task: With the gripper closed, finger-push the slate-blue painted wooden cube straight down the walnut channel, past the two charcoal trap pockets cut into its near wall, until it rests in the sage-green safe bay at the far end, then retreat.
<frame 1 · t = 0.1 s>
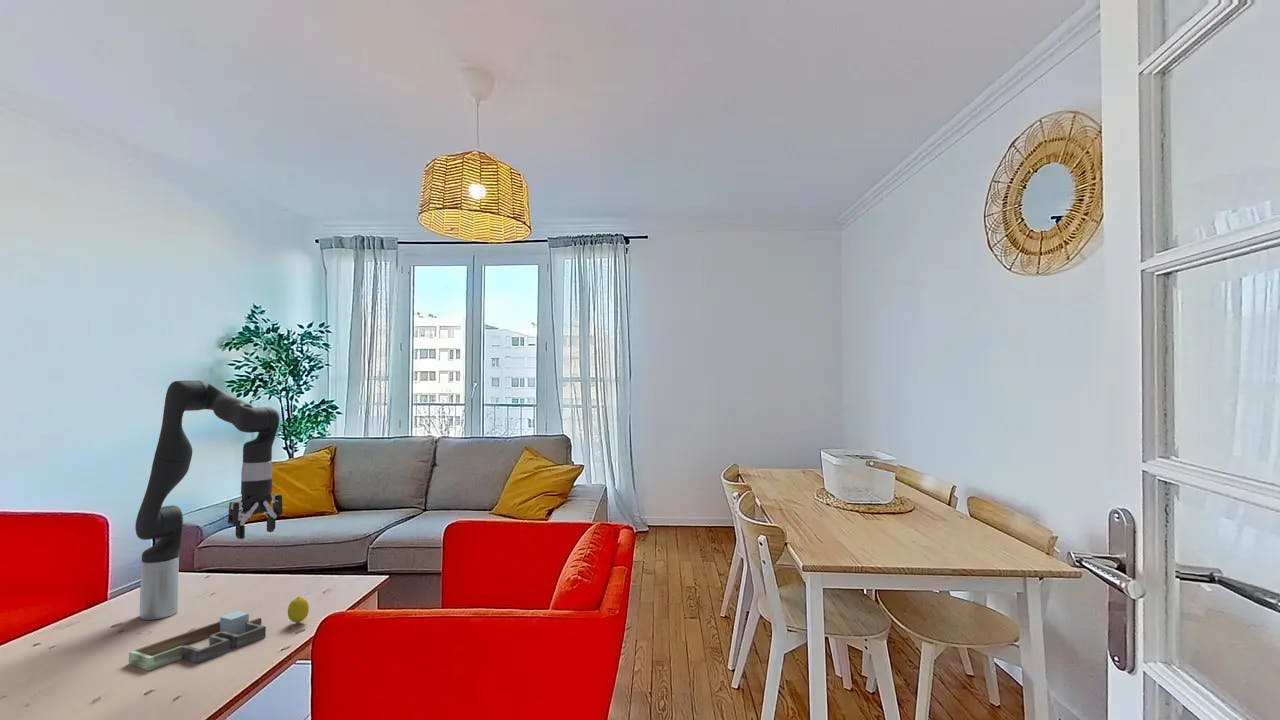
hand: (255, 535, 175), 29 cm above the table, fingers open, 8 cm apart
lemon: (298, 624, 186), on the table
block: (234, 632, 179), resting in trap box
trap box: (201, 644, 171), on the table
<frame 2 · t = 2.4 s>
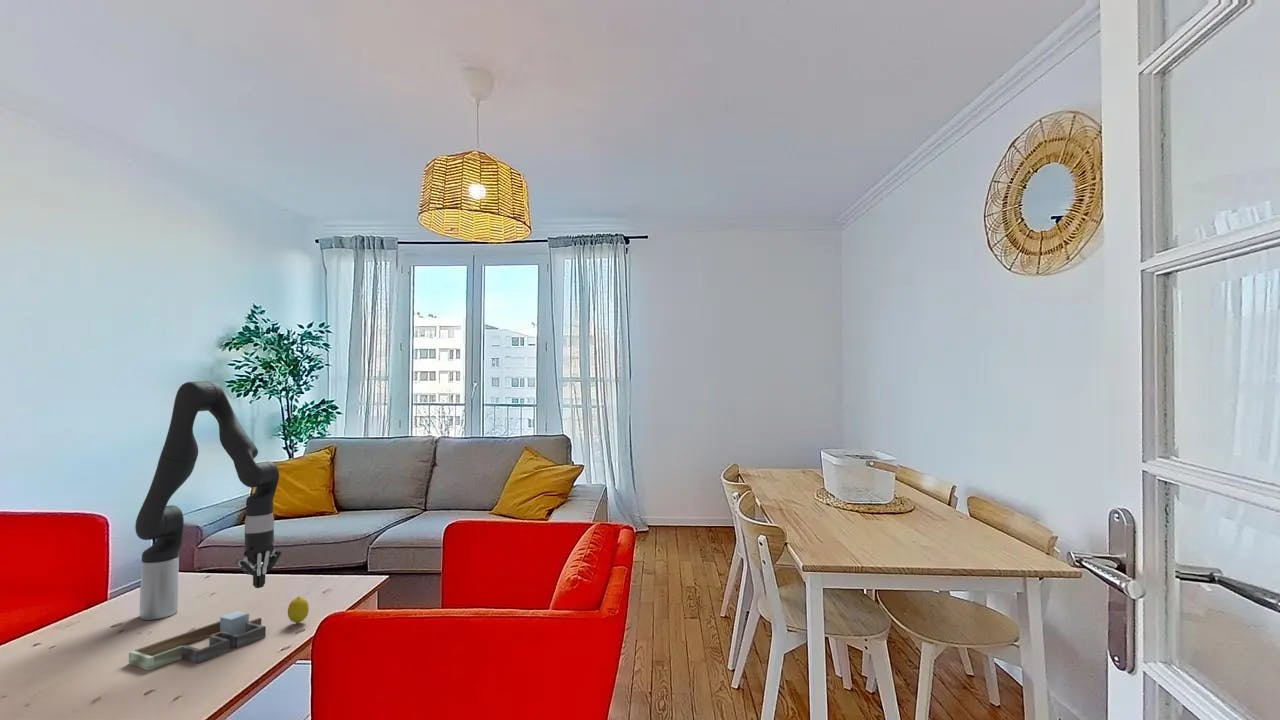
hand: (258, 587, 186), 11 cm above the table, fingers closed
nothing on the table moved.
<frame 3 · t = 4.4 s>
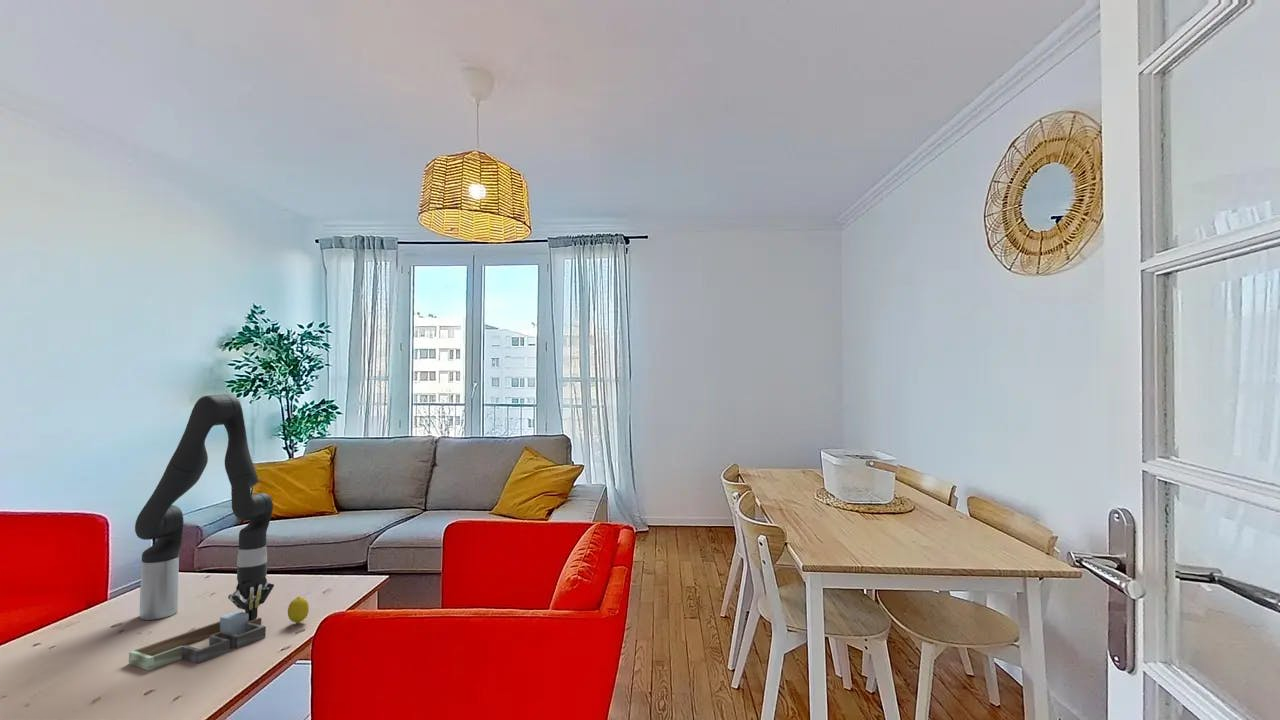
hand: (251, 621, 184), 1 cm above the table, fingers closed
block: (234, 632, 179), resting in trap box, touching gripper
everything else where it was.
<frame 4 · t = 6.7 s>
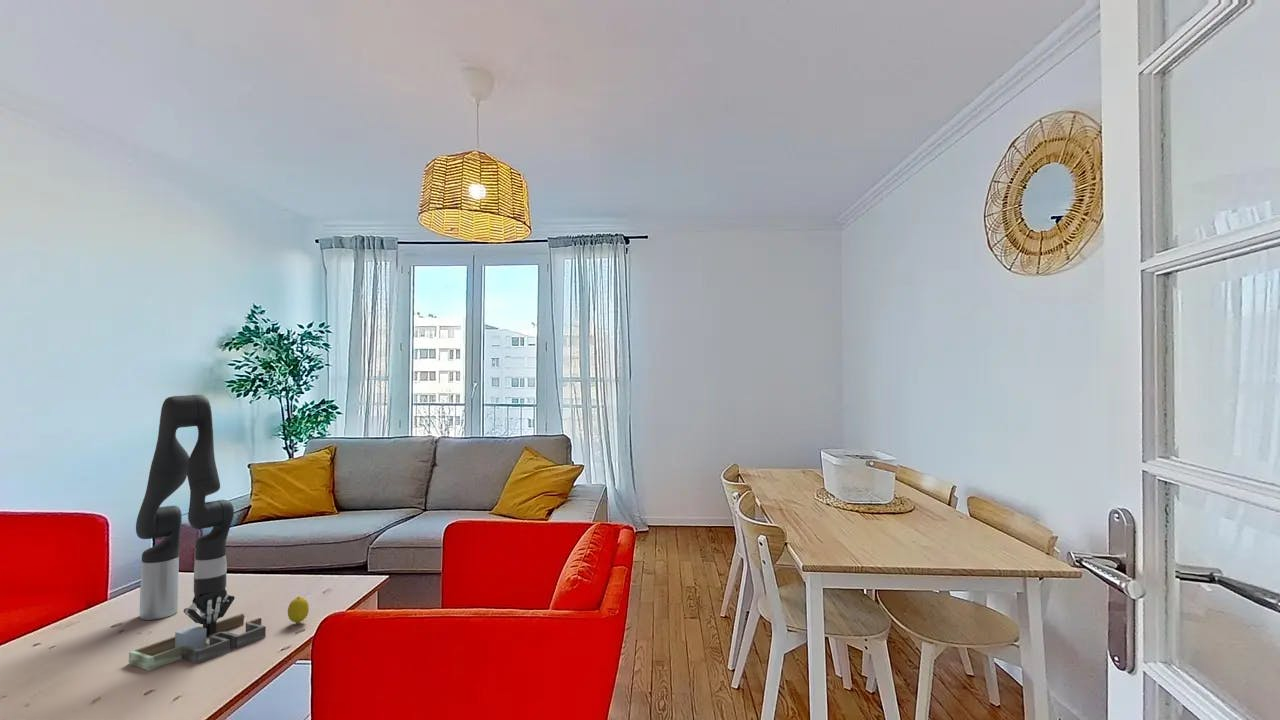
hand: (209, 635, 173), 2 cm above the table, fingers closed
block: (190, 648, 168), resting in trap box, touching gripper
everything else where it was.
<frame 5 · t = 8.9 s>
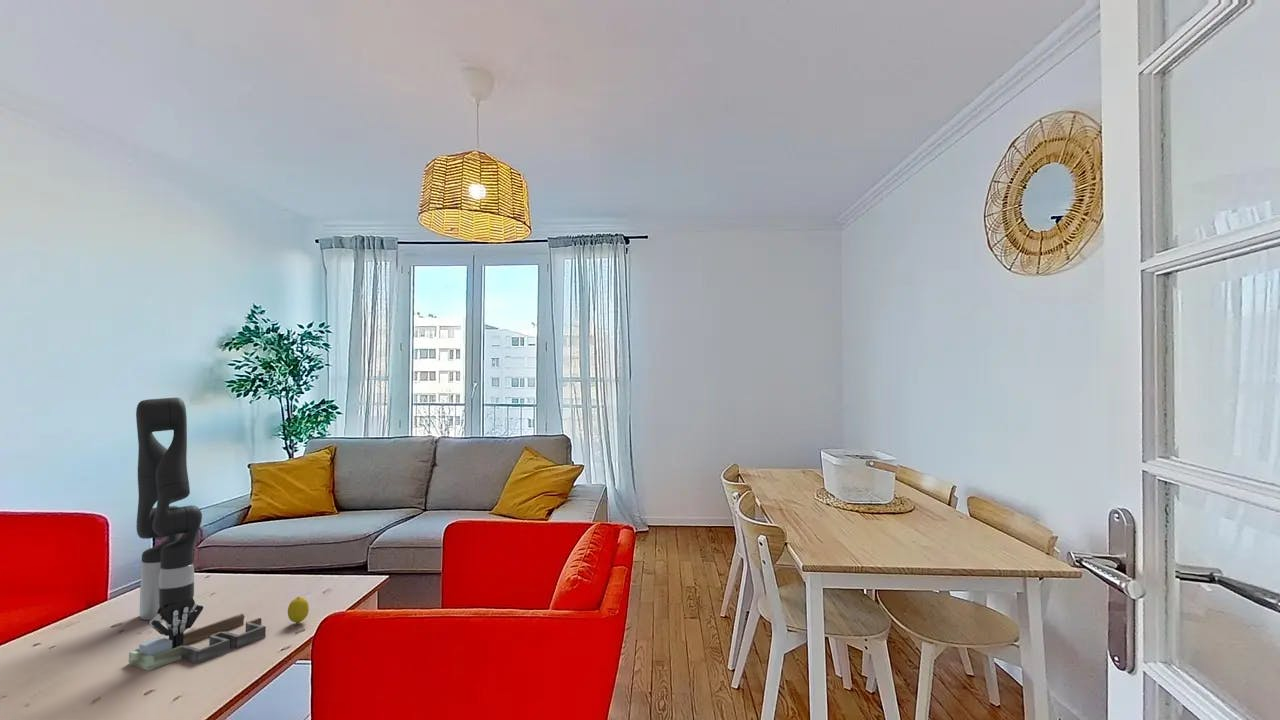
hand: (175, 647, 165), 2 cm above the table, fingers closed
block: (155, 661, 160), resting in trap box, touching gripper
everything else where it was.
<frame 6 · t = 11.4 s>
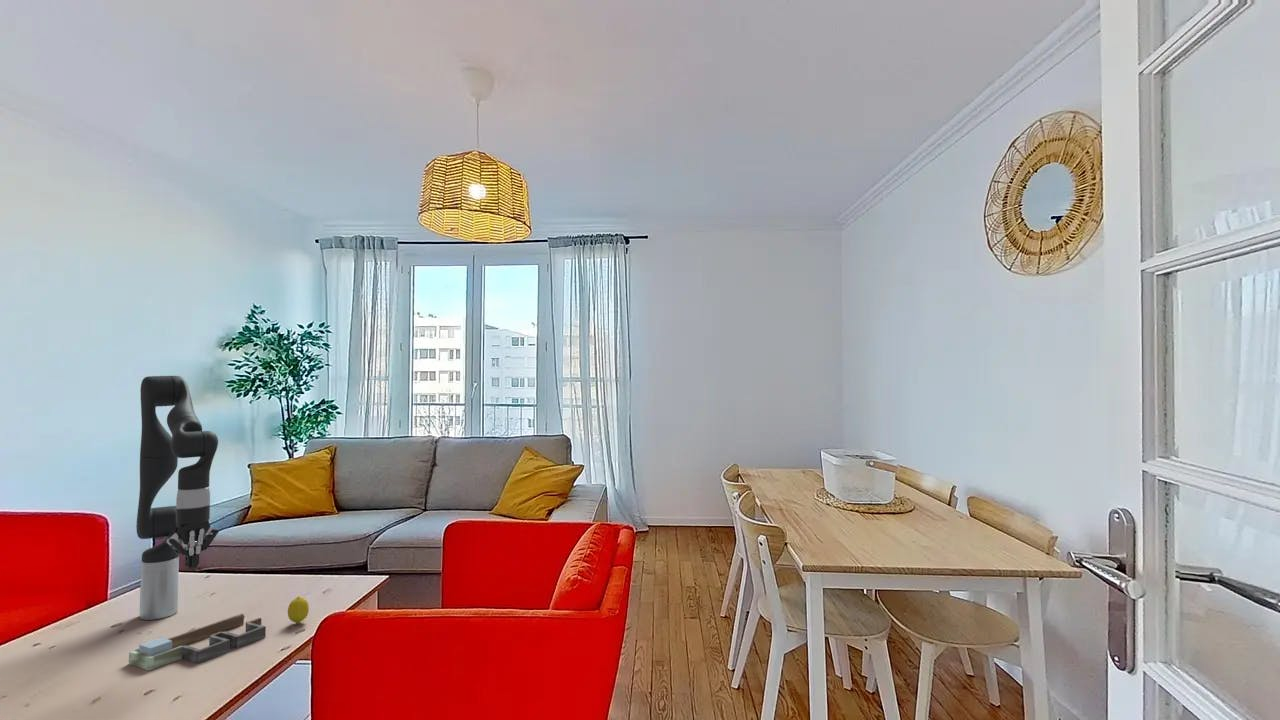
hand: (191, 568, 169), 22 cm above the table, fingers closed
block: (155, 662, 160), resting in trap box
everything else where it was.
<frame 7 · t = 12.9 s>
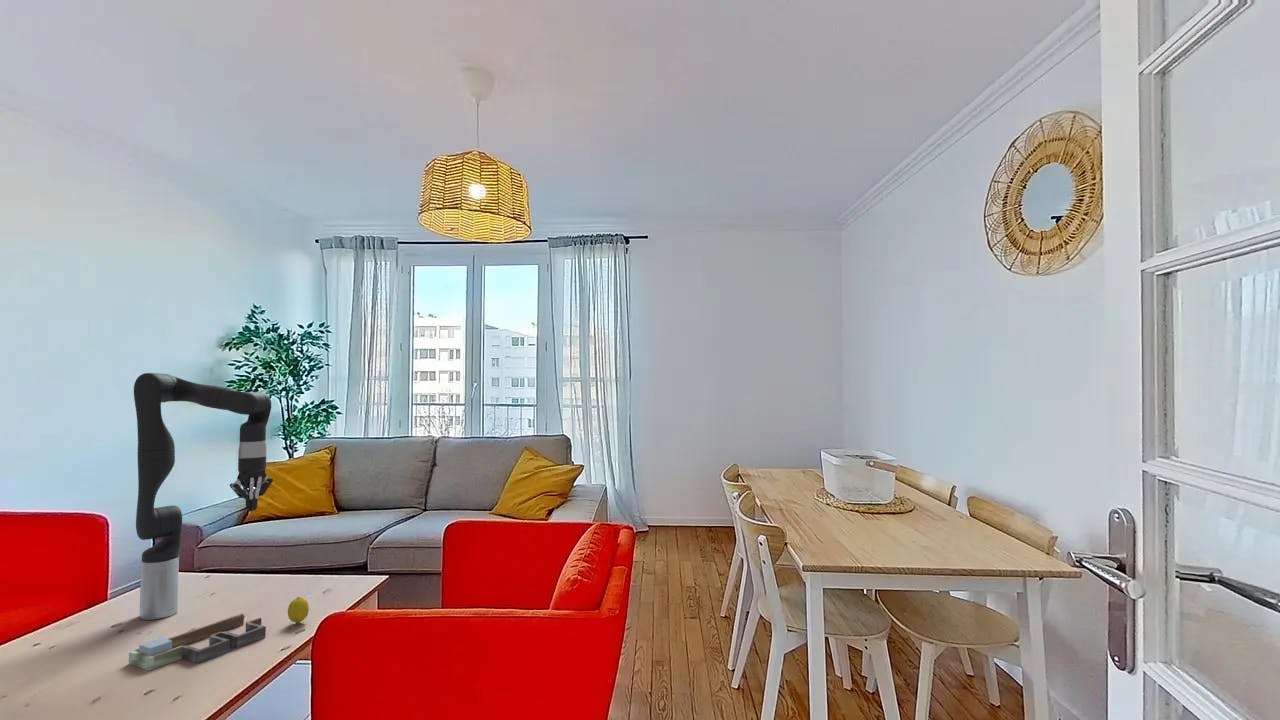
hand: (251, 510, 194), 32 cm above the table, fingers closed
nothing on the table moved.
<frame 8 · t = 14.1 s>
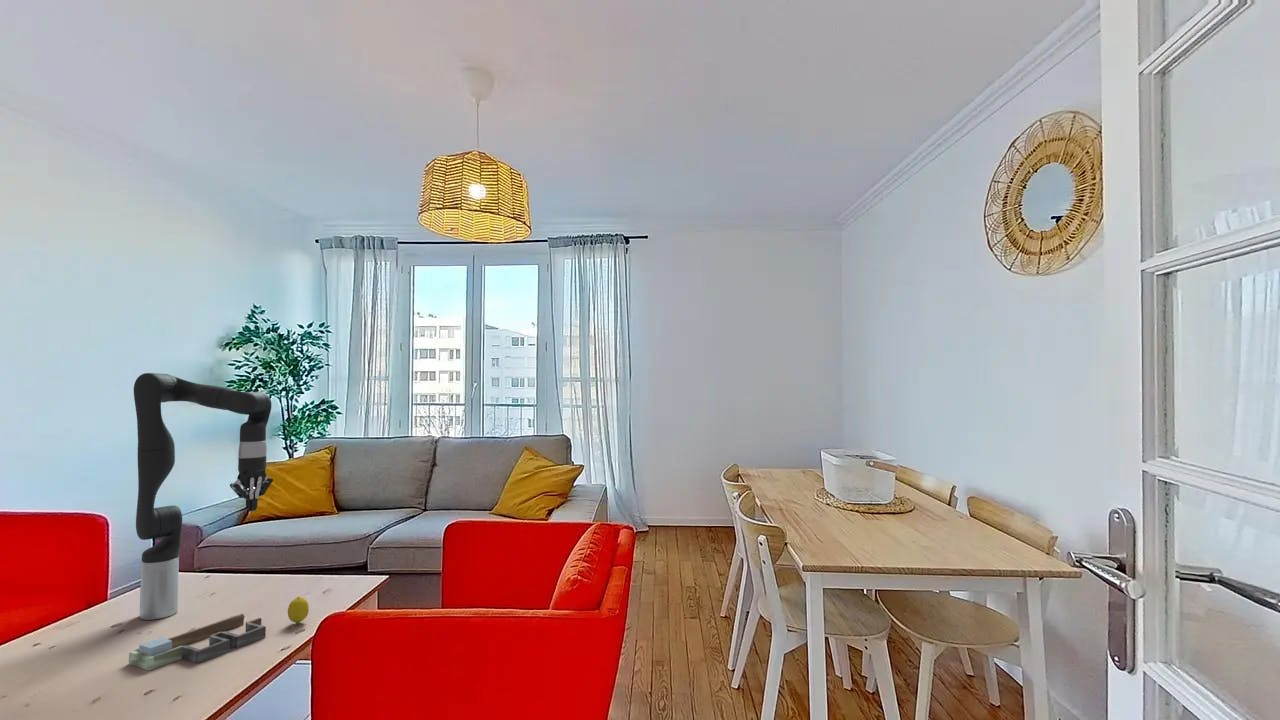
hand: (251, 510, 194), 32 cm above the table, fingers closed
nothing on the table moved.
at the end: block 1.2 cm from the target spot on the trap box, point 0.0 cm above the trap box's base; block moved 20.5 cm from its start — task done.
